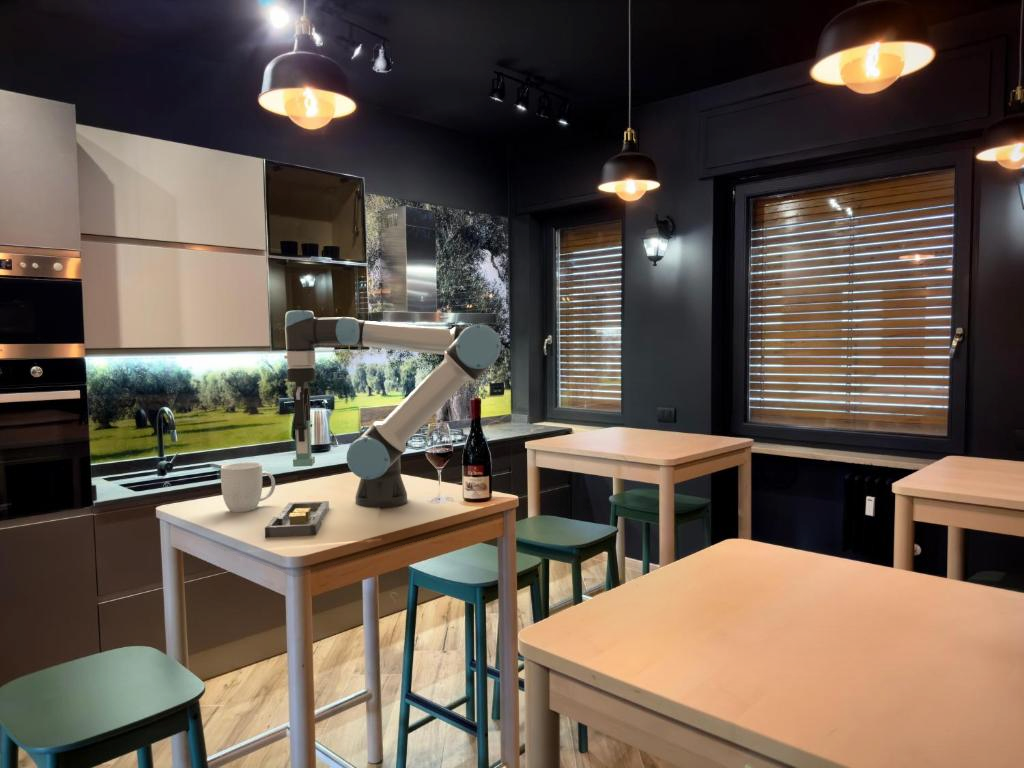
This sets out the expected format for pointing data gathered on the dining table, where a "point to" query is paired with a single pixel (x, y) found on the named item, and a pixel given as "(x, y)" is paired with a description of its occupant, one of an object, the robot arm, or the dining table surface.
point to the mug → (243, 486)
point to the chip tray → (292, 528)
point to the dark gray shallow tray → (316, 507)
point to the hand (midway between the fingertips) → (303, 451)
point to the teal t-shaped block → (304, 458)
